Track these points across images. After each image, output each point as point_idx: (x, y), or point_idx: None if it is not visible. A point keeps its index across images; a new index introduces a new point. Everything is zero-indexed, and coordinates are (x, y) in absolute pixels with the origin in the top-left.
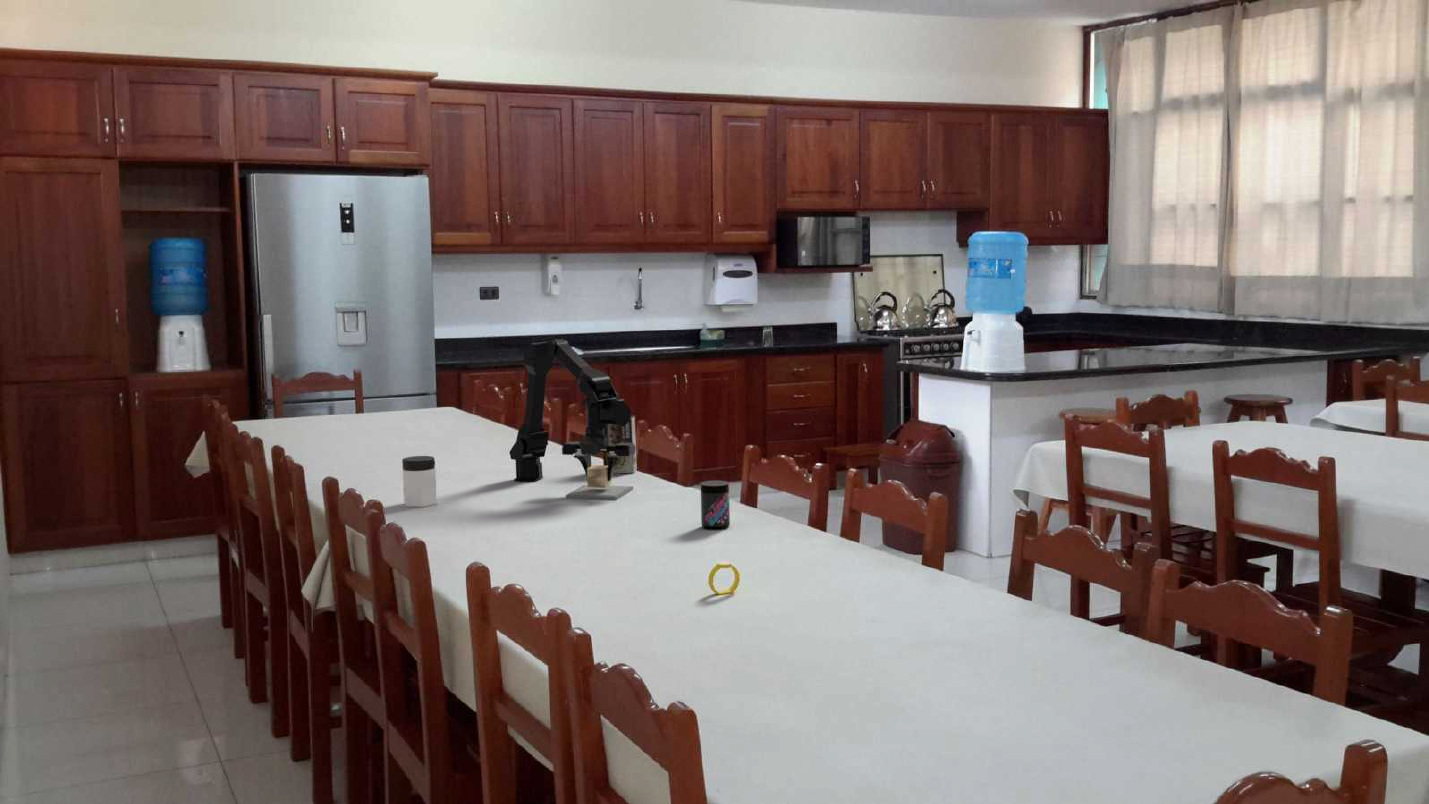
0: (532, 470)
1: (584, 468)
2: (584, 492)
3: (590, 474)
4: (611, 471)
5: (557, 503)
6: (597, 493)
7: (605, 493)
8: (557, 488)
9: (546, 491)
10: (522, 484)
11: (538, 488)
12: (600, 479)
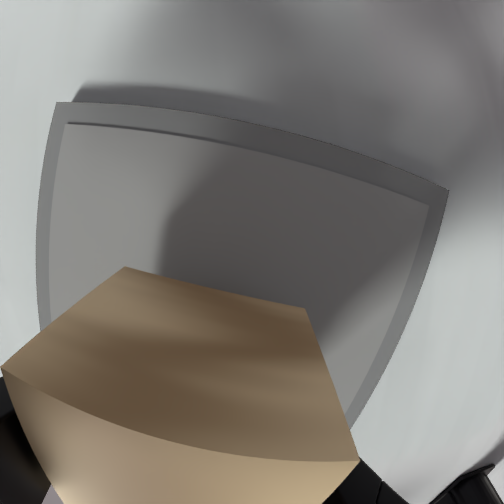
0: (468, 501)
1: (379, 486)
2: (323, 268)
3: (284, 385)
4: (3, 379)
5: (447, 46)
6: (202, 217)
7: (134, 213)
8: (433, 432)
9: (485, 374)
10: (494, 445)
11: (486, 414)
12: (142, 315)
